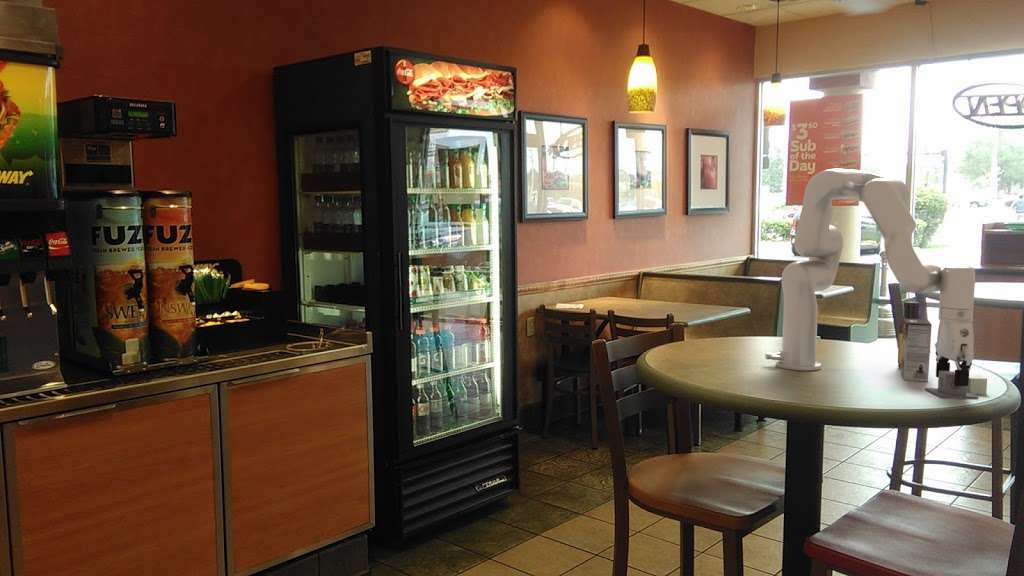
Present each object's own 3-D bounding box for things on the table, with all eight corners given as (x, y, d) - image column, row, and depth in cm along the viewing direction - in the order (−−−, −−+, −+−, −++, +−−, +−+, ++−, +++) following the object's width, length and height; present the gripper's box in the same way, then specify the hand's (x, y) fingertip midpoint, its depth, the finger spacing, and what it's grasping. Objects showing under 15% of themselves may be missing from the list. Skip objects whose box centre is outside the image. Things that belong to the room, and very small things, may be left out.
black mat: (941, 398, 199) (941, 396, 199) (924, 389, 208) (924, 388, 208) (978, 398, 199) (978, 396, 198) (960, 390, 207) (960, 388, 207)
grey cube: (966, 394, 201) (967, 375, 200) (944, 393, 201) (945, 374, 201) (958, 390, 205) (959, 371, 205) (937, 389, 206) (938, 370, 206)
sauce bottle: (923, 371, 232) (927, 303, 230) (900, 370, 233) (904, 303, 231) (916, 367, 238) (920, 301, 237) (894, 366, 240) (897, 300, 238)
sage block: (970, 393, 204) (971, 378, 204) (962, 390, 208) (963, 375, 208) (986, 394, 204) (987, 378, 204) (978, 390, 208) (979, 375, 208)
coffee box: (899, 373, 229) (902, 318, 227) (924, 375, 226) (927, 319, 225) (903, 380, 220) (906, 322, 218) (929, 382, 218) (932, 323, 216)
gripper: (989, 319, 192) (984, 389, 194) (954, 310, 210) (950, 374, 211) (957, 319, 193) (953, 388, 195) (924, 310, 210) (921, 374, 212)
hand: (951, 381), depth 203 cm, fingers open, 9 cm apart
